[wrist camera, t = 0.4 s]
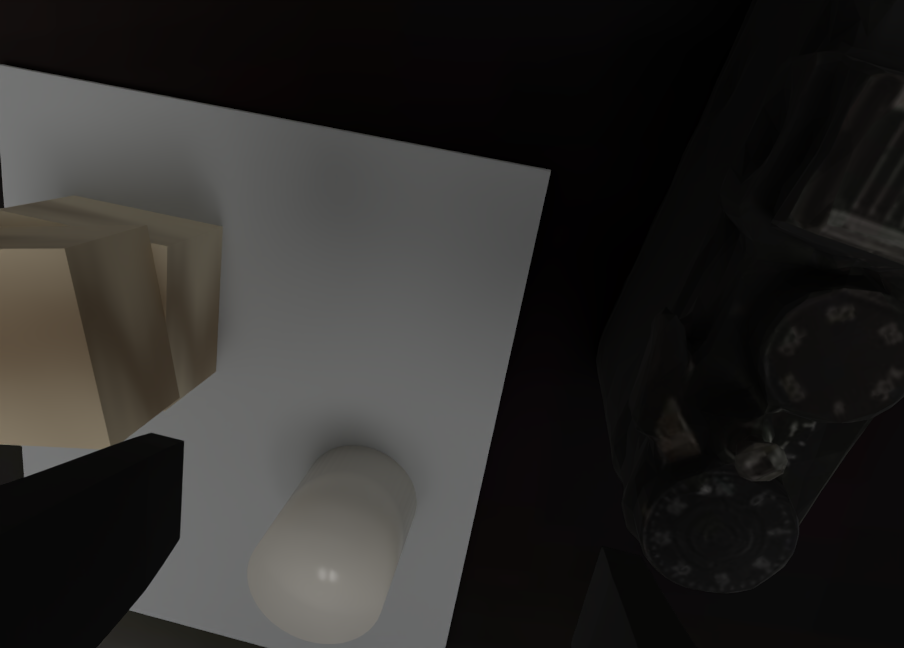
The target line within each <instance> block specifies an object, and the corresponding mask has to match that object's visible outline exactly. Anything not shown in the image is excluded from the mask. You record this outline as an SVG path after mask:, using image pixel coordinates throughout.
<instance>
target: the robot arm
mask: <svg viewBox="0 0 904 648" xmlns="http://www.w3.org/2000/svg"><path fill="white" fill-rule="evenodd" d="M183 460H184V441H183V440H179V439H175V438H171V437H167V436H163V435H159V434H155V433H148V434H145V435H141V436H138V437H135V438H132V439H129V440H126V441H123V442H120V443H117V444H114V445H112V446H109V447H106V448H103V449H100V450H98V451H95V452H92V453H90V454H87V455H84V456H82V457H79V458H76V459H73V460H71V461H68V462H65V463H62V464H60V465H57V466H54V467H51V468H49V469H46V470H43V471H40V472H38V473H35V474H32V475H29V476H27V477H24V478H21V479H18V480H15V481H12V482H9V483H6V484H3V485H0V648H96V647H97V646H98V645H99V644H100V643H101V642H102V641H103V639H104V638H105V637H106V636H107V635H108V634H109V633H110V631H111V630H112V629H113V628H114V627H115V626H116V624H117V623H118V622H119V621H120V620H121V619H122V617H123V616H124V615H125V614H126V613H127V612H128V610H129V609H130V608H131V607H132V606H133V605H134V603H135V602H136V601H137V600H138V599H139V597H140V596H141V595H142V594H143V593H144V591H145V590H146V589H147V587H148V586H149V584H150V583H151V582H152V580H153V579H154V577H155V576H156V574H157V573H158V572H159V570H160V569H161V567H162V566H163V564H164V563H165V561H166V559H167V558H168V556H169V555H170V553H171V552H172V550H173V549H174V547H175V546H176V544H177V543H178V541H179V539H180V529H181V506H182V483H183ZM571 648H697V647H696V646H695V644H694V643H693V641H692V639H691V638H690V636H689V635H688V633H687V632H686V630H685V628H684V627H683V625H682V624H681V622H680V620H679V619H678V617H677V616H676V614H675V612H674V611H673V609H672V607H671V606H670V604H669V603H668V601H667V599H666V598H665V596H664V594H663V593H662V591H661V589H660V588H659V586H658V584H657V583H656V581H655V579H654V578H653V576H652V575H651V573H650V571H649V570H648V568H647V566H646V565H645V563H644V561H643V560H642V558H641V557H640V555H636V554H632V553H628V552H624V551H620V550H616V549H612V548H608V547H604V546H602V548H601V551H600V554H599V557H598V560H597V563H596V566H595V570H594V573H593V576H592V579H591V582H590V585H589V588H588V592H587V595H586V598H585V601H584V604H583V607H582V610H581V613H580V617H579V620H578V623H577V626H576V629H575V632H574V635H573V639H572V642H571Z"/></svg>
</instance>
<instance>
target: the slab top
mask: <svg viewBox="0 0 904 648" xmlns="http://www.w3.org/2000/svg"><path fill="white" fill-rule="evenodd" d="M179 398H180V396H179V390H178V385H177V380H176V375H175V369H174V364H173V359H172V354H171V348H170V343H169V338H168V332H167V327H166V322H165V317H164V311H163V306H162V301H161V296H160V290H159V285H158V280H157V274H156V269H155V264H154V259H153V253H152V248H151V243H150V237H149V232H148V227H147V225H96V226H4V227H0V444H4V445H23V446H43V447H62V448H81V449H103V448H106V447H109V446H112V445H114V444H117V443H120V442H123V441H124V440H125V439H127V438H128V437H129V436H131V435H132V434H133V433H134V432H136V431H137V430H138V429H140V428H141V427H142V426H144V425H145V424H146V423H147V422H149V421H150V420H151V419H153V418H154V417H155V416H157V415H158V414H159V413H160V412H162V411H163V410H164V409H166V408H167V407H168V406H170V405H171V404H172V403H173V402H175V401H176V400H177V399H179Z"/></svg>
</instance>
